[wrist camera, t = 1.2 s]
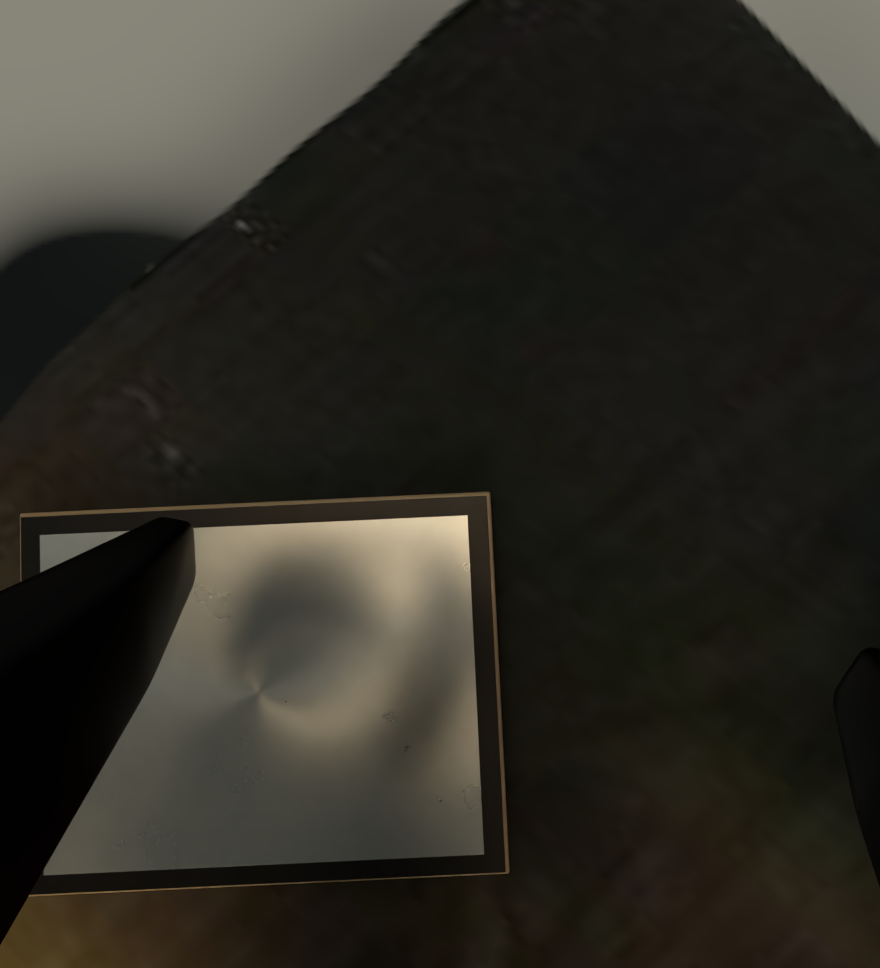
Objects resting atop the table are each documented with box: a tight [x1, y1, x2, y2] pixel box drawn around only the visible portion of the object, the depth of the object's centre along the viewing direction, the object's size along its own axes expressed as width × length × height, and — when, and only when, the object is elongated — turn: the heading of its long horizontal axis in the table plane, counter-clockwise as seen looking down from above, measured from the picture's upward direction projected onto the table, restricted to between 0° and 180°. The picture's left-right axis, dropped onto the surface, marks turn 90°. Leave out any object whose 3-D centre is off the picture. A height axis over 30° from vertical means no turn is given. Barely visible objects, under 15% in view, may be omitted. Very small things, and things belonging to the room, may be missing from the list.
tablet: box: [20, 492, 510, 896], centre depth 24 cm, size 13×16×1 cm
